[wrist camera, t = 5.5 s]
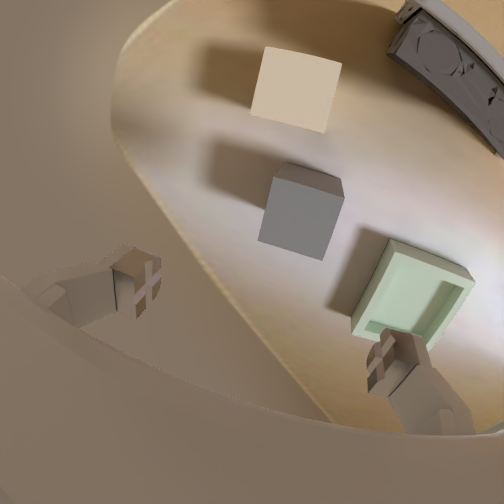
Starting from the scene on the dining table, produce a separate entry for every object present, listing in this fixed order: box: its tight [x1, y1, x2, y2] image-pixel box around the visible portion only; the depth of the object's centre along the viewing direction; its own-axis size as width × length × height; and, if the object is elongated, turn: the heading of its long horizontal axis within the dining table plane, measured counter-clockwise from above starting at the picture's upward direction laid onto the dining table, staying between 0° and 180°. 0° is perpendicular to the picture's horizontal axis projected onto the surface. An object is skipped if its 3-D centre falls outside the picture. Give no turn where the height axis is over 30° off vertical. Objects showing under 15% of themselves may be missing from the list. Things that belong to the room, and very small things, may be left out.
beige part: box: [250, 46, 342, 134], centre depth 15 cm, size 4×4×5 cm
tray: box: [351, 238, 476, 352], centre depth 20 cm, size 8×8×2 cm
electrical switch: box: [386, 0, 504, 159], centre depth 10 cm, size 9×5×9 cm, turn 60°
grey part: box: [258, 162, 344, 261], centre depth 18 cm, size 4×4×5 cm
